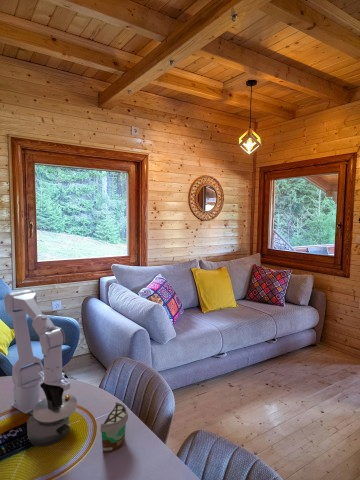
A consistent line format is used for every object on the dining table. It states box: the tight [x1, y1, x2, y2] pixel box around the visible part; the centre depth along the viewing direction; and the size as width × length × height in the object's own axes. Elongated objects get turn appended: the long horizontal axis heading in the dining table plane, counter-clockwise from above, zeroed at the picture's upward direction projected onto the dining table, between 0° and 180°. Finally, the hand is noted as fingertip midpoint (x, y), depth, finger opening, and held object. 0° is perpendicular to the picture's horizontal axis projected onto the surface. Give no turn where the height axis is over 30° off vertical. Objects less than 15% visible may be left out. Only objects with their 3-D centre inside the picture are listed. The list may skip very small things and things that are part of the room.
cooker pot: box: [26, 410, 71, 447], centre depth 106 cm, size 18×13×5 cm
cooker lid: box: [33, 393, 78, 424], centre depth 108 cm, size 14×14×4 cm
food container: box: [99, 401, 129, 454], centre depth 101 cm, size 12×6×10 cm, turn 168°
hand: (54, 403), depth 108 cm, fingers closed on cooker lid, 2 cm apart
